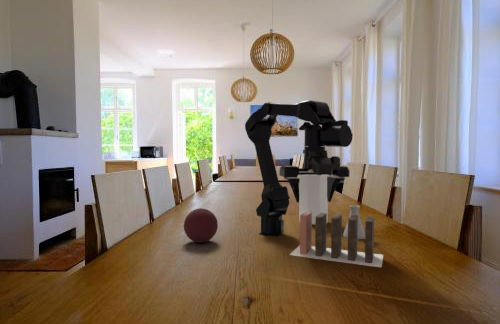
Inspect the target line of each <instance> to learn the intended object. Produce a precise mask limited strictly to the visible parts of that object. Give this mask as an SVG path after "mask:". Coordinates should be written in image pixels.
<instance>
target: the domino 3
mask: <svg viewBox="0 0 500 324" xmlns="http://www.w3.org/2000/svg"><path fill="white" fill-rule="evenodd" d="M330 220H331V228H330V229H331V230H330V233H331V234H330V238H331V240H330V242H331V243H330V244H331V245H330V246H331V247H330V248H331V258H336V259H338V257H339V255H340V254H341V250H343V248H342V244H343V243H342V237H343V233H342V232H343V230H342V229H343V225H342V224H343V223H342V222H343V214H341V213H340V214H339V213H335V214H334V215H333V216H332V217H331V219H330Z"/></svg>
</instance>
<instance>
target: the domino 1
mask: <svg viewBox="0 0 500 324" xmlns="http://www.w3.org/2000/svg"><path fill="white" fill-rule="evenodd" d="M312 226H313V225H312V212H305V213H303V214H302V215H300V222H299V245H300V254H307V253H308V252H309V251H310V249H311V248H312V246H313V245H312V242H313V241H312V239H313V237H312V236H313V233H312V232H313V231H312V230H313V227H312Z"/></svg>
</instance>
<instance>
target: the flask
mask: <svg viewBox="0 0 500 324" xmlns="http://www.w3.org/2000/svg"><path fill="white" fill-rule="evenodd" d="M349 208H350V211H349V216H348V217H349V218H350V216H351V215H356V216H358V236H357V240H365V228H364V226H363V224H362V220H361V216H360V209H361V206H360V205H356V204H352V205H351V204H350V205H349ZM349 218H348V219H349ZM342 237H344V238H345V239H348V222H347V223H346V226H345V228H344V230H343V233H342Z"/></svg>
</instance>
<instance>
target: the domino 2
mask: <svg viewBox="0 0 500 324" xmlns="http://www.w3.org/2000/svg"><path fill="white" fill-rule="evenodd" d="M326 219H327V213H320V214H318V215H317V216H316V221H315V225H314V226H315V234H314V237H315V238H314V239H315V241H314V243H315V244H314V245H315V256H321V257H322V255H323V254H324V252H325V251H326V248H327V224H326Z"/></svg>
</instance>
